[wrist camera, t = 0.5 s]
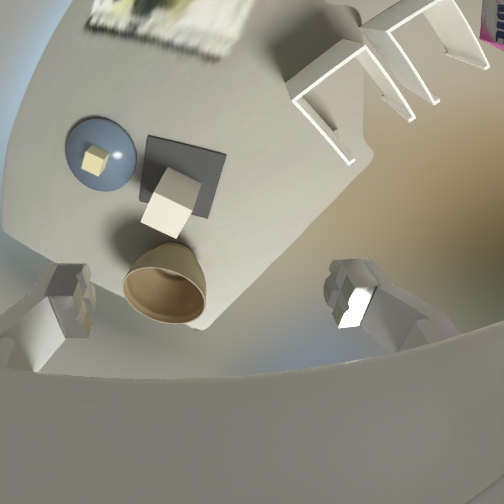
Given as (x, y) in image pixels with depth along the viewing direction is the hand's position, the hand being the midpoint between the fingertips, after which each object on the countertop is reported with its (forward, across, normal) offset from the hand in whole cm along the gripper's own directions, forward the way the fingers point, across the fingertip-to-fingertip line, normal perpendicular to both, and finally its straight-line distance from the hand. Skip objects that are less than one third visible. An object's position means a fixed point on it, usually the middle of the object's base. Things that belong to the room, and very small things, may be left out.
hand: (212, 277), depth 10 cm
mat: (+42, +2, +13) cm, 44 cm away
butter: (+45, +16, +9) cm, 48 cm away
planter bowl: (+46, +3, +32) cm, 56 cm away
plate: (+45, +16, +9) cm, 48 cm away
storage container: (+34, -24, -10) cm, 43 cm away
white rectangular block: (+42, +2, +15) cm, 45 cm away
